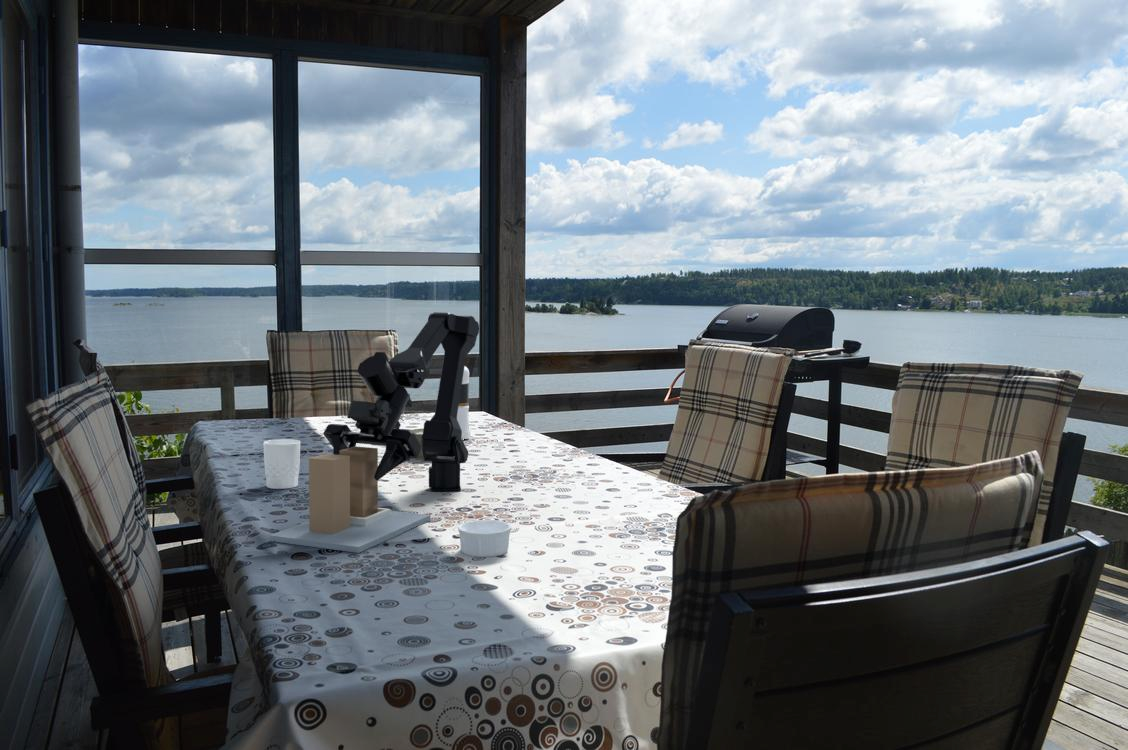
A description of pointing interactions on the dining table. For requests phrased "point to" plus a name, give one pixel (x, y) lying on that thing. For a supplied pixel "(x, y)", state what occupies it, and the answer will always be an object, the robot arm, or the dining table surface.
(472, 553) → the ramekin
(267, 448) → the white cup
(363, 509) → the walnut pillar
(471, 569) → the dining table surface
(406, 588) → the dining table surface
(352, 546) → the baseplate
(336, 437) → the robot arm
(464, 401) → the vodka
